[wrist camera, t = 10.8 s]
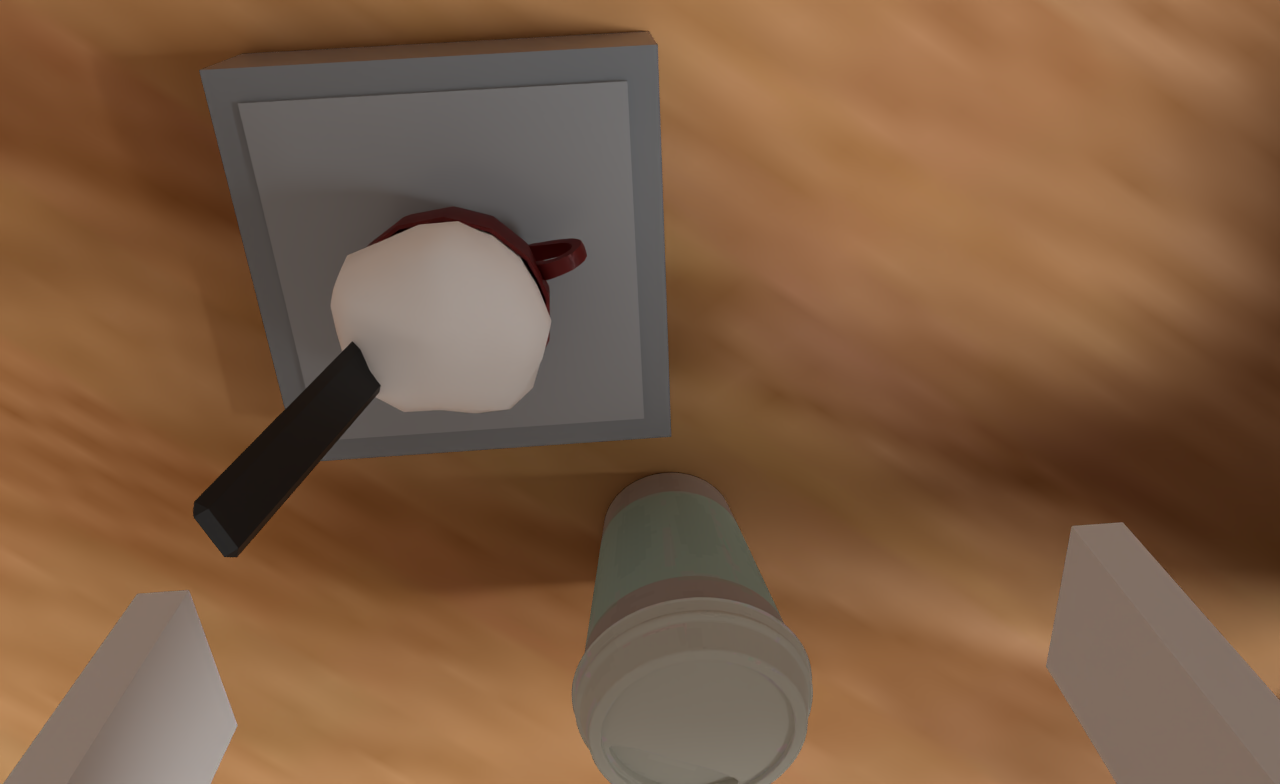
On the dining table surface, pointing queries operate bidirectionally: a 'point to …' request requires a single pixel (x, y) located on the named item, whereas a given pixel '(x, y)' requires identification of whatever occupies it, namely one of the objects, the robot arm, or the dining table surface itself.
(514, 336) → the cocoa
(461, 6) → the dining table surface
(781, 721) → the coffee cup
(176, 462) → the dining table surface
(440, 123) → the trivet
